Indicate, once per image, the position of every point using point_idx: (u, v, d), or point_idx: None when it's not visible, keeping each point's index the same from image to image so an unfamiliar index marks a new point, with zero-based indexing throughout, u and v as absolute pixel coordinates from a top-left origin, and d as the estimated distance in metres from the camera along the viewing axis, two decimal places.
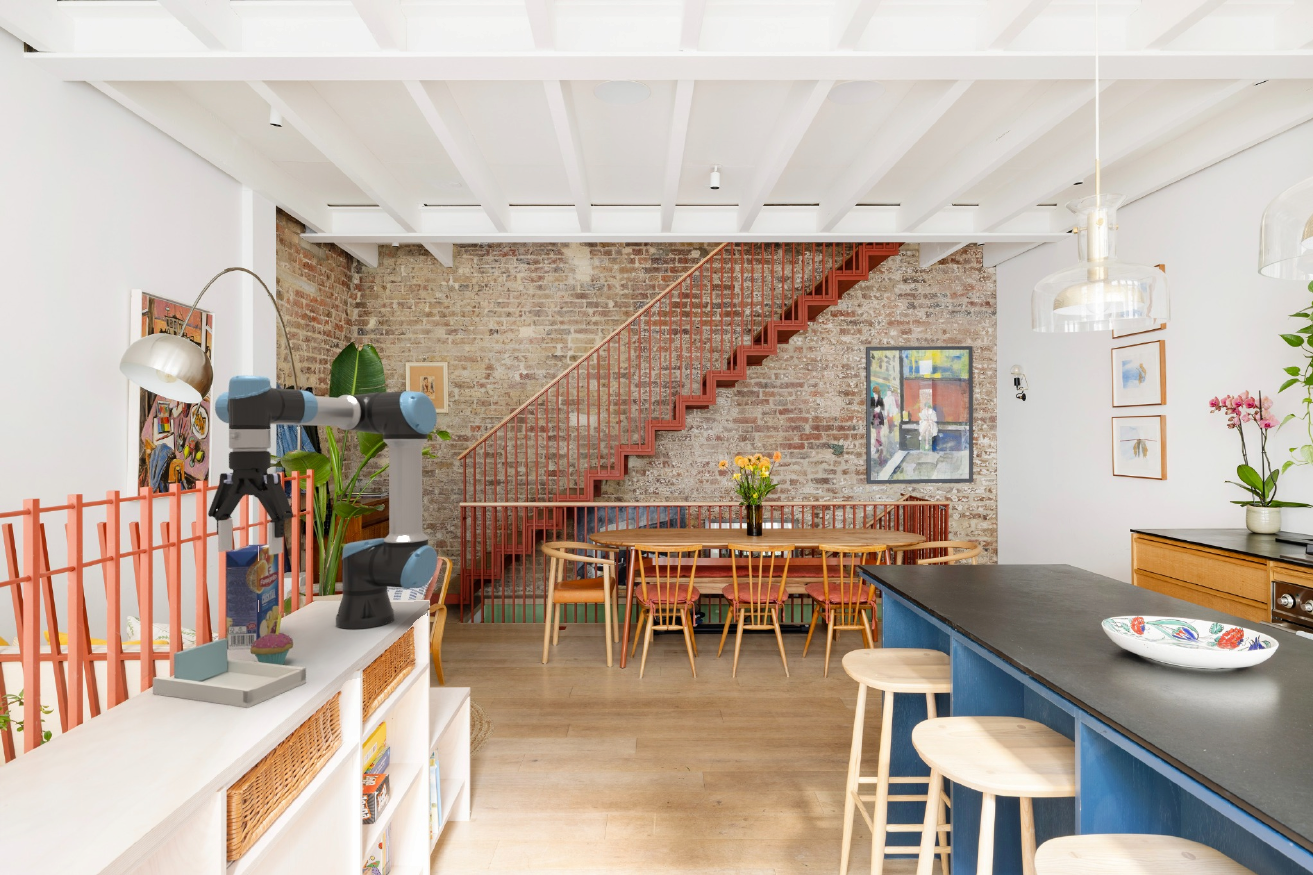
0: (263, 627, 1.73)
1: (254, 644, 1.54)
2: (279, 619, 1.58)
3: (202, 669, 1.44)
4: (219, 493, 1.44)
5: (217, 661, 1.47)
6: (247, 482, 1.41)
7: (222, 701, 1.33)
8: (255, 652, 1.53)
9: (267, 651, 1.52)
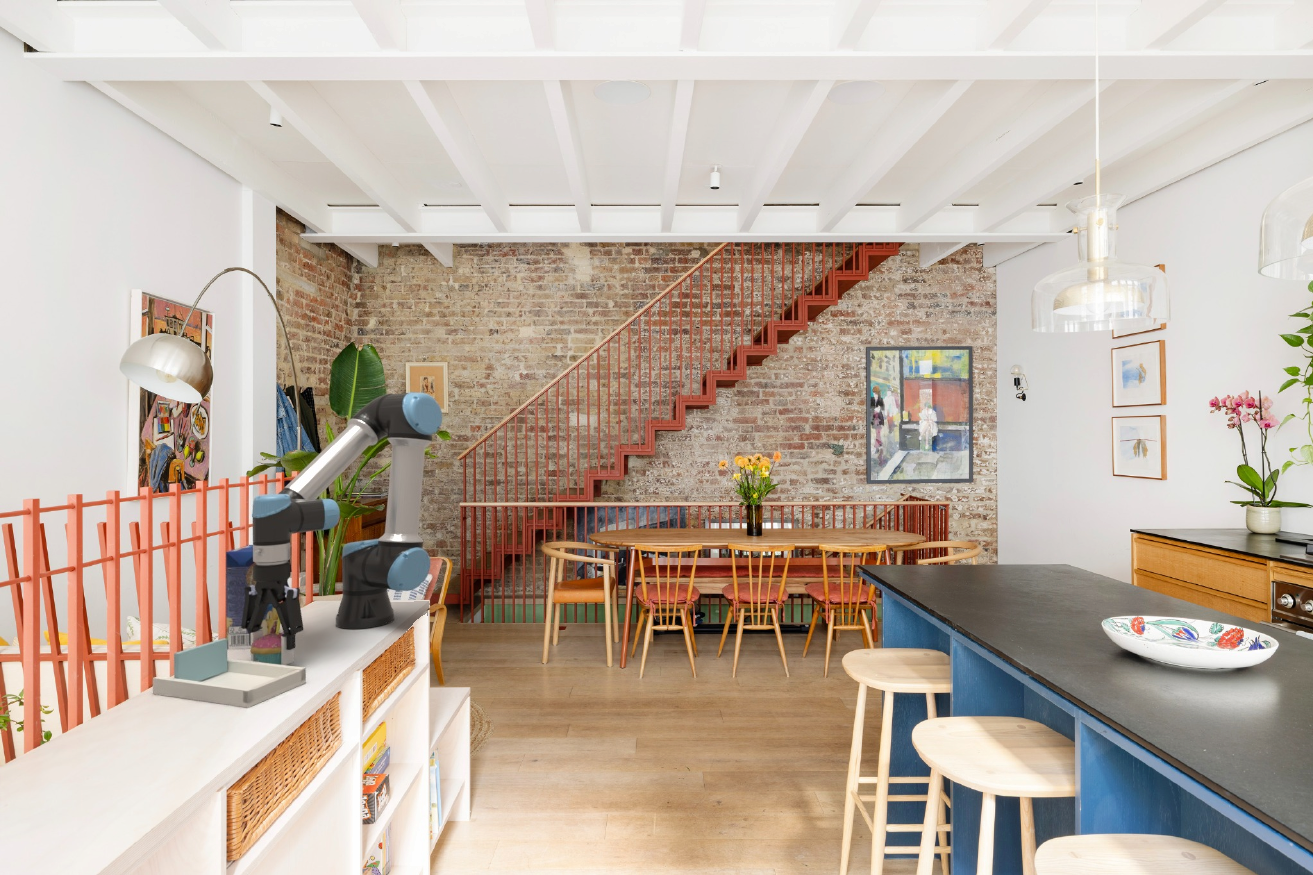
0: (263, 627, 1.73)
1: (254, 644, 1.54)
2: None
3: (202, 669, 1.44)
4: (247, 605, 1.57)
5: (217, 661, 1.47)
6: (269, 593, 1.54)
7: (222, 701, 1.33)
8: (255, 652, 1.53)
9: (268, 651, 1.52)
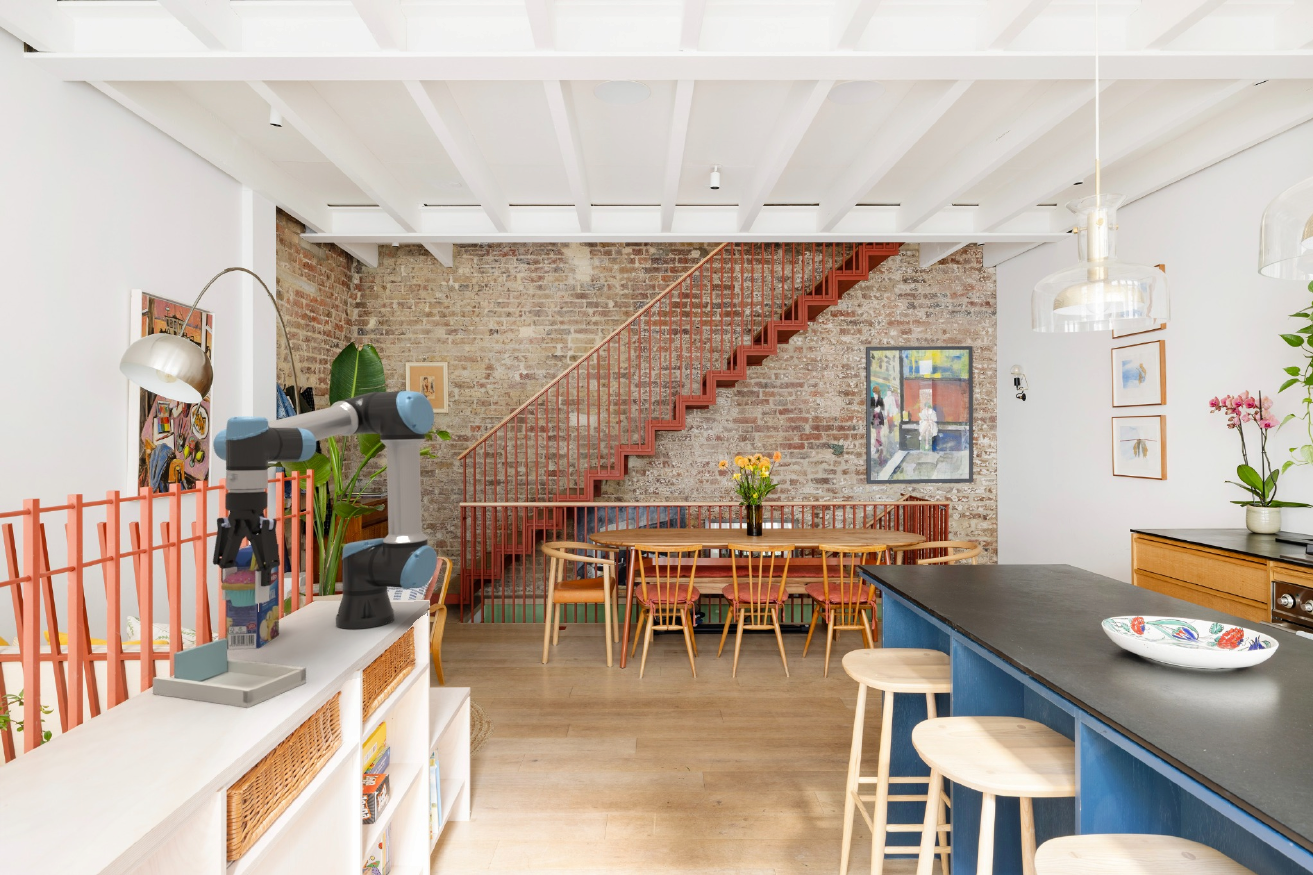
0: (263, 627, 1.73)
1: (225, 579, 1.39)
2: None
3: (202, 669, 1.44)
4: (219, 538, 1.43)
5: (217, 661, 1.47)
6: (243, 524, 1.40)
7: (222, 701, 1.33)
8: (226, 588, 1.38)
9: (240, 586, 1.38)
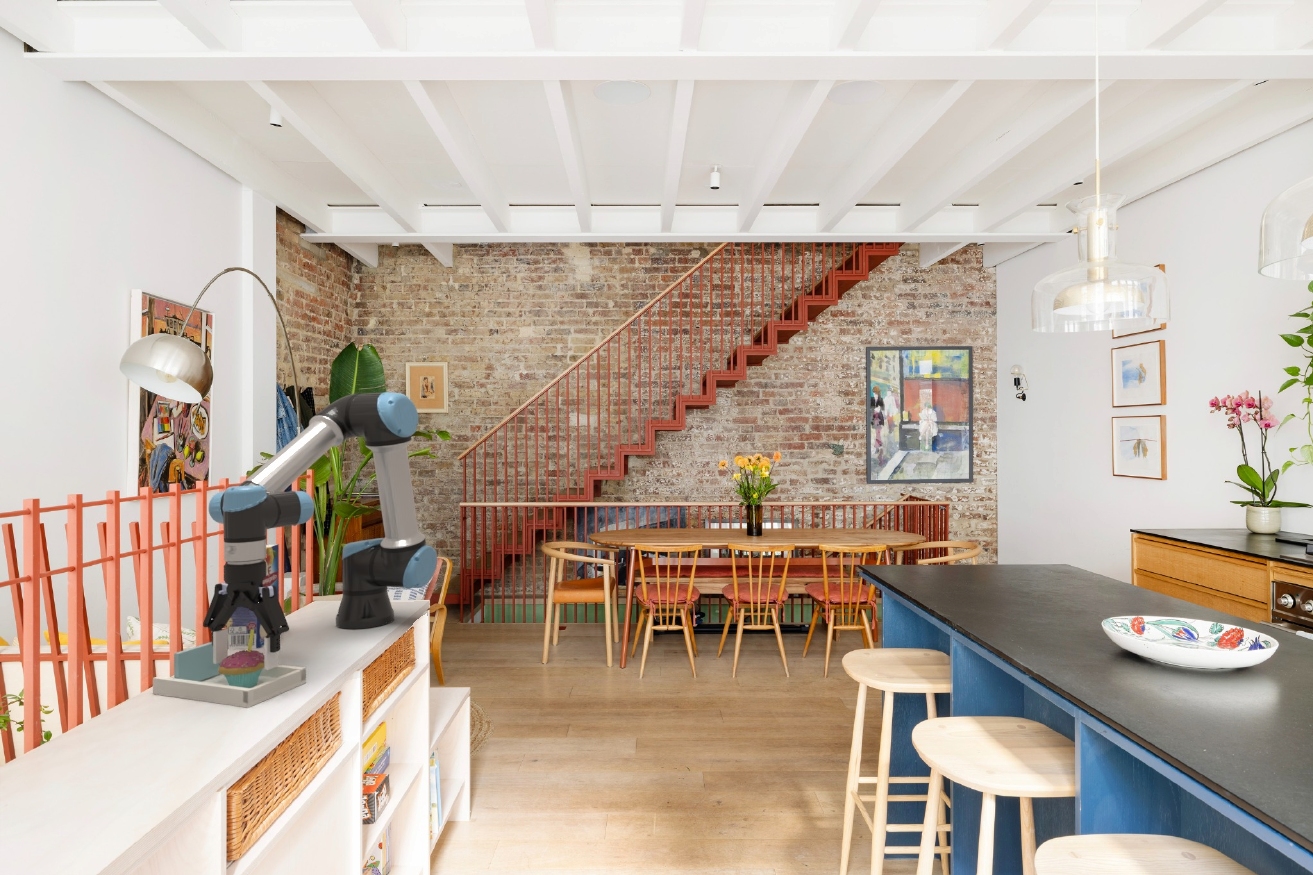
0: None
1: (222, 663, 1.38)
2: (251, 635, 1.42)
3: (202, 669, 1.44)
4: (214, 604, 1.42)
5: None
6: (242, 595, 1.39)
7: (222, 701, 1.33)
8: (223, 672, 1.37)
9: (237, 671, 1.37)
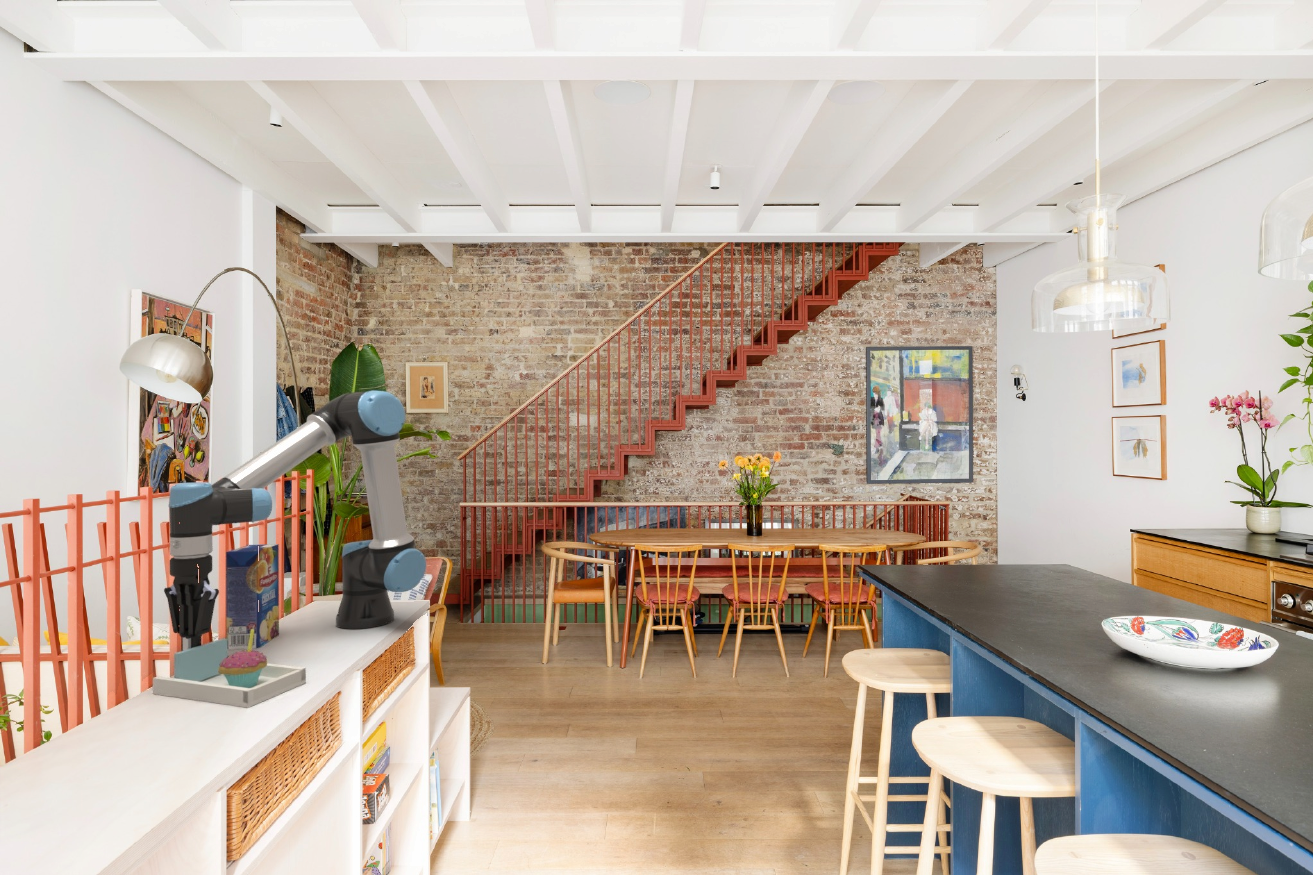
0: (263, 627, 1.73)
1: (222, 663, 1.38)
2: (251, 635, 1.42)
3: (202, 669, 1.44)
4: (172, 606, 1.45)
5: (217, 661, 1.47)
6: (187, 589, 1.43)
7: (222, 701, 1.33)
8: (223, 672, 1.37)
9: (237, 671, 1.37)
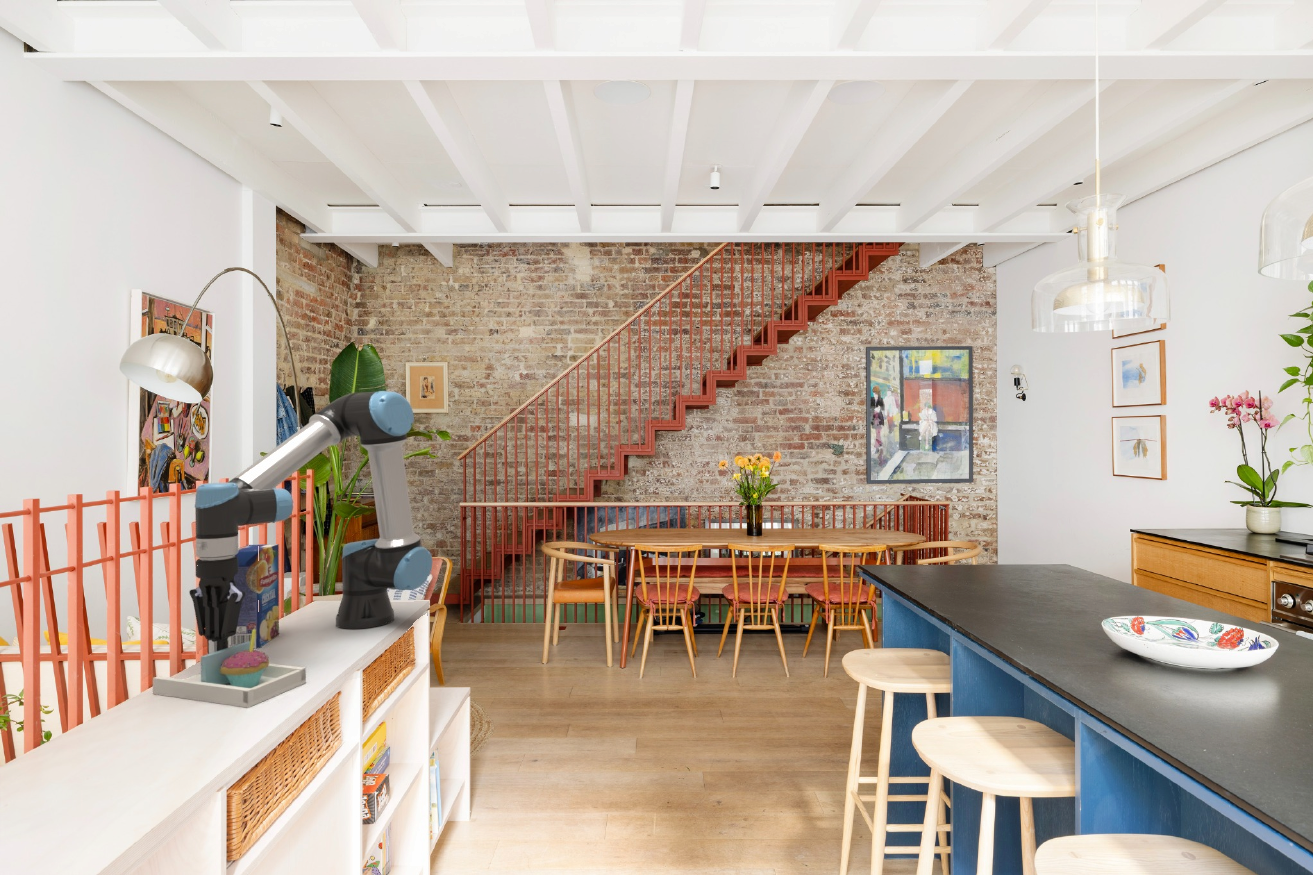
0: (263, 627, 1.73)
1: (224, 663, 1.38)
2: (253, 635, 1.42)
3: None
4: (197, 608, 1.43)
5: None
6: (213, 591, 1.41)
7: (222, 701, 1.33)
8: (225, 672, 1.37)
9: (239, 671, 1.37)
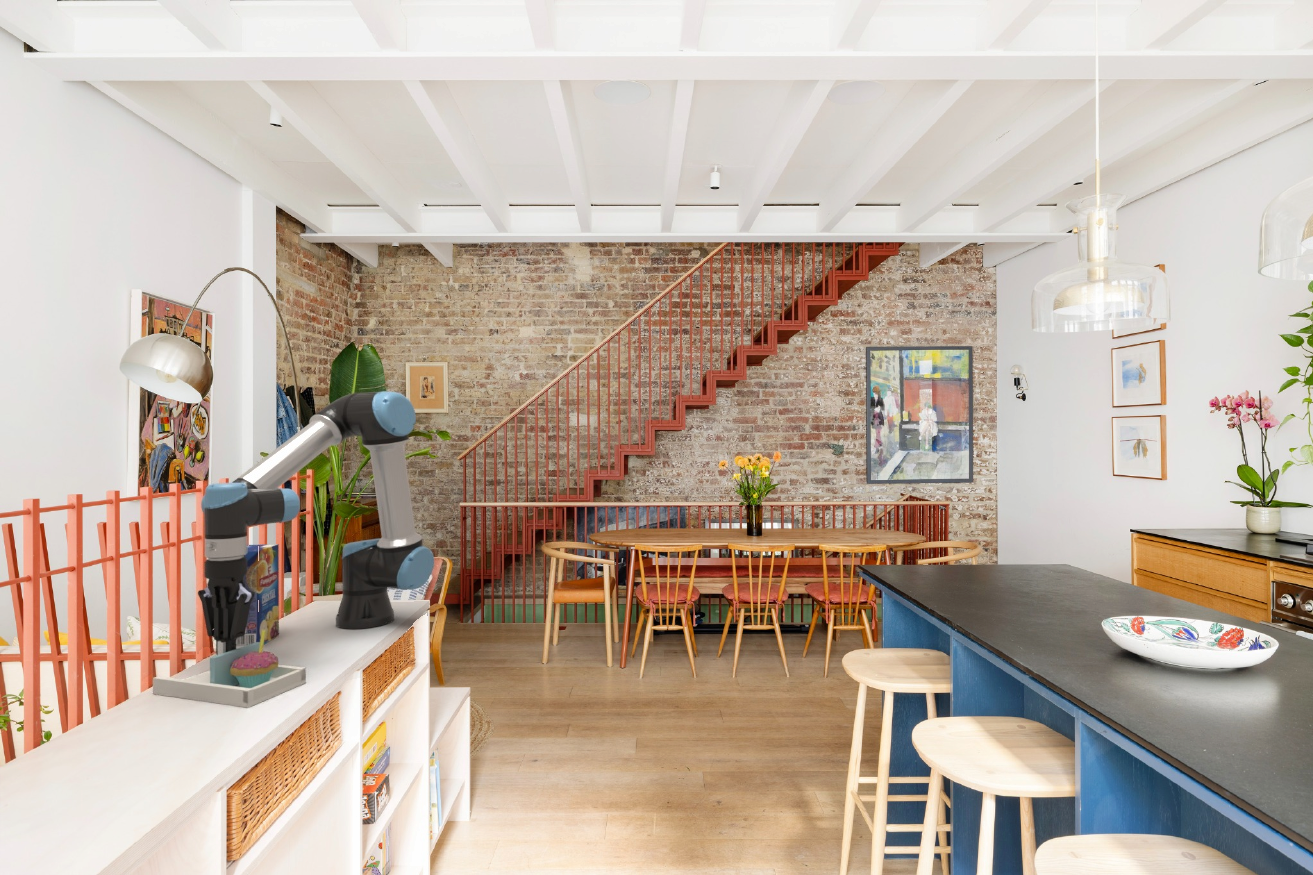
0: (263, 627, 1.73)
1: (234, 664, 1.37)
2: (263, 636, 1.41)
3: None
4: (206, 609, 1.42)
5: None
6: (222, 592, 1.40)
7: (222, 701, 1.33)
8: (235, 673, 1.36)
9: (249, 672, 1.36)
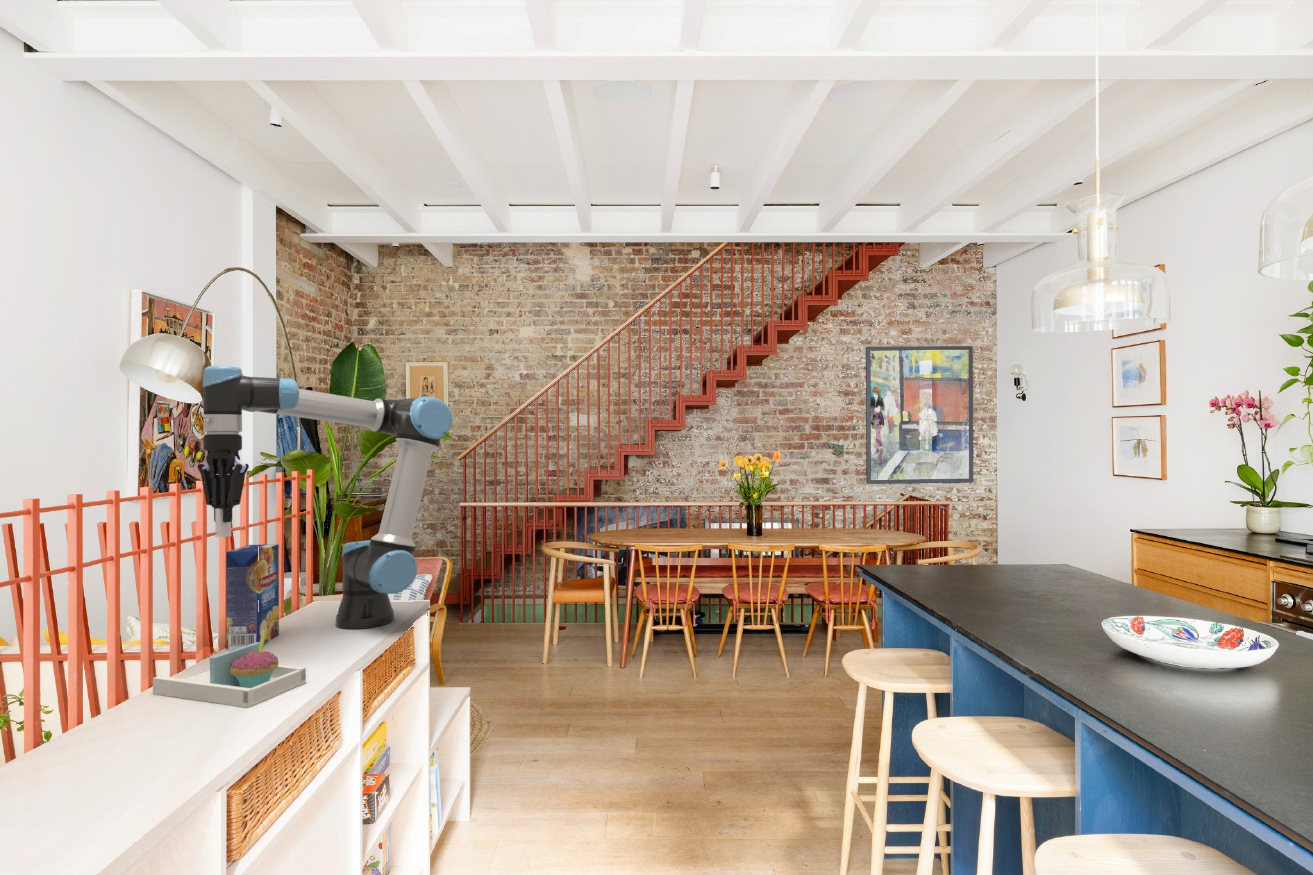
0: (263, 627, 1.73)
1: (234, 664, 1.37)
2: (263, 636, 1.41)
3: None
4: (205, 480, 1.57)
5: None
6: (219, 463, 1.55)
7: (222, 701, 1.33)
8: (235, 673, 1.36)
9: (249, 672, 1.36)
